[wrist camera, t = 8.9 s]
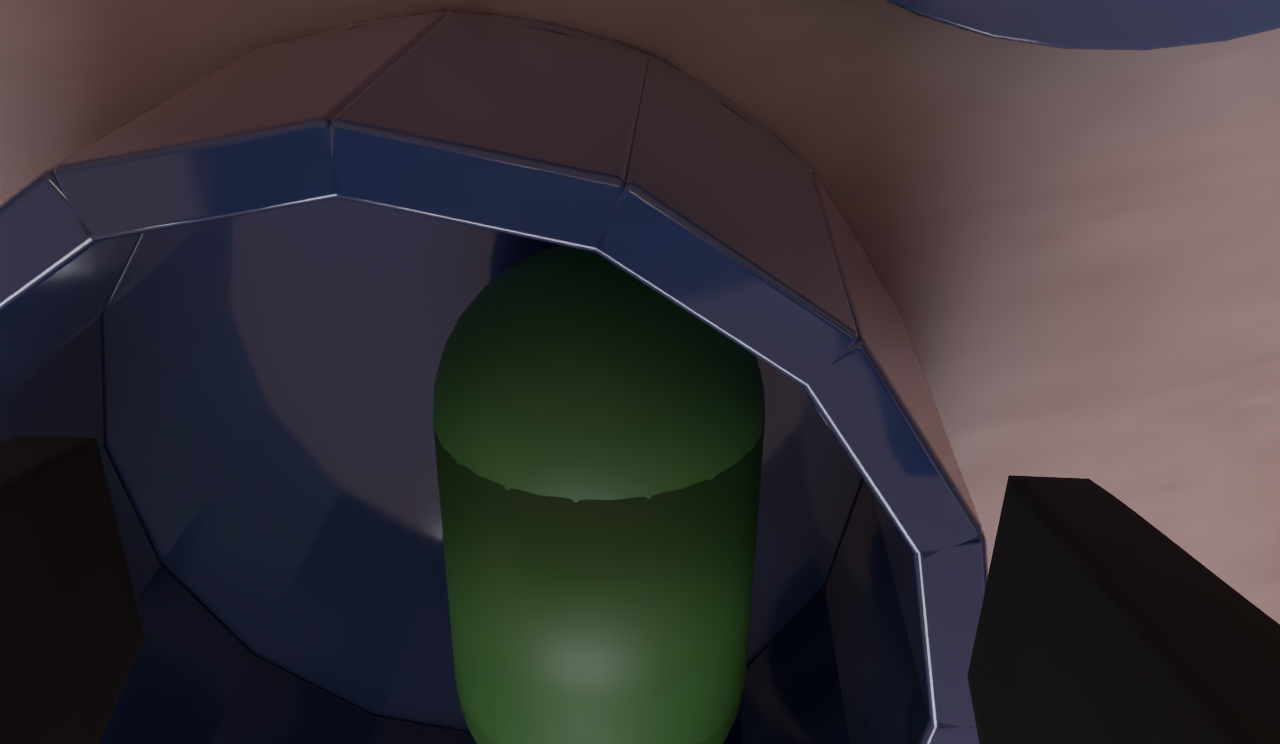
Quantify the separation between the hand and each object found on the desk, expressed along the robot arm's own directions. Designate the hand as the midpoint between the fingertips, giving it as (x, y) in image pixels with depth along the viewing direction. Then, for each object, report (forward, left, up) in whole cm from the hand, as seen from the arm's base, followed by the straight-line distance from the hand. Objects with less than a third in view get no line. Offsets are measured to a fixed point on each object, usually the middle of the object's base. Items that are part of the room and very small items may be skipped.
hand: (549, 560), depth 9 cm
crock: (+4, -1, -7) cm, 8 cm away
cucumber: (+3, -1, -6) cm, 7 cm away
